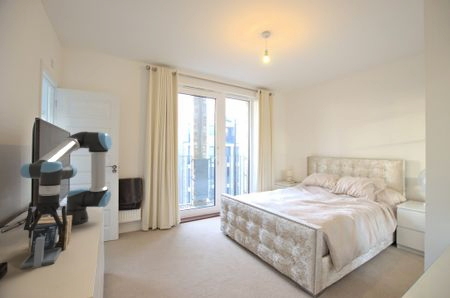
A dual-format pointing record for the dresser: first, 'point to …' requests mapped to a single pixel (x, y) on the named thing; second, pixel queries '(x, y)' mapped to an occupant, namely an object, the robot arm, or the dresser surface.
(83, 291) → the dresser surface
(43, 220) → the cubby
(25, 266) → the tray
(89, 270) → the dresser surface
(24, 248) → the dresser surface
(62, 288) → the dresser surface
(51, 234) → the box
